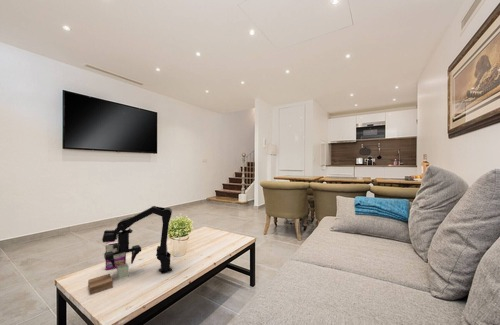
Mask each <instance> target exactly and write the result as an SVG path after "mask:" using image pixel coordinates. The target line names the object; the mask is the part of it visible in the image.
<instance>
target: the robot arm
mask: <svg viewBox="0 0 500 325" xmlns="http://www.w3.org/2000/svg"><path fill="white" fill-rule="evenodd" d="M153 214H155V215H156V216H159V217H161V221H162V225H161V226H162V227H161V236H160V245H157V247H156V254H155V256H156V259H157V260H158V261H159V263H160V268H158V271H159V272H160V273H161V274H162V275H163V274H166V273H168V272H171V271H173V268H172V267H171V256H172V254H171V253H170V252H169V251H168V242H167V241H168V236H169V235H168V234H169V226H170V225H169V224H170V221H171V217H172V214H173V210H172V208H170V207H160V206H156V205H152V206H150V207H149V208H147V209H144V210H143V211H141V212H139V213H137V214H134V215H133V216H130V217H125V218H123V219H121V220H120V221H119V222H118V223H117V224H116V228H115V229H109V230H108V229H105V230H104V231H103V235H102V238H101V239H102V240H101V241H102V243H108V242H114V241H118V244H117V243H114V244H113V249H115V248H117V251H118V252H114V253H113V252H112V251H110V252H106V251H105V253H103V258H104V260H105V261H106V260H108V261H111V263H112V265H113V268H114V269H113V270H115V269H116V268H115V262H114V258H113V257H114V256H116V255H120V254H124V253H126V254H128V253H131V260H130V264H131V265H133V264H134V261H135V259H136V257H137V255H138V254H140V253H141V252H142V247H141V246H140V244H136V245H132V246H131V247H130V234H132V233H133V229H131V226H132V225H134V224H135V223H137V222H139V221H141V220H143V219H144V218H146V217H149V216H150V215H153Z"/></svg>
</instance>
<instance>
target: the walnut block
mask: <svg viewBox="0 0 500 325" xmlns="http://www.w3.org/2000/svg"><path fill="white" fill-rule="evenodd" d="M87 283H88V284H87V288H88V292H89V296H91V295H94V294H97V293H100V292H104V291H106V290H109V289H112V288H114V287H113V286H114V284H113V283H114V282H113V278H112V276H111V273H107V274H104V275H101V276H96V277H94V278H90V279H88V282H87Z"/></svg>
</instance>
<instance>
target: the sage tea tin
mask: <svg viewBox="0 0 500 325" xmlns="http://www.w3.org/2000/svg"><path fill="white" fill-rule="evenodd" d="M116 269H117V271H116V276H117V279H118V280H122V279H125V278H128V277H129V270H130V269H129V264H128V263H126V264H123V265H120V266H117V268H116Z"/></svg>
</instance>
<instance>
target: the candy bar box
mask: <svg viewBox="0 0 500 325" xmlns="http://www.w3.org/2000/svg"><path fill="white" fill-rule="evenodd" d="M114 243H117V244H118V240H115V241H114V242H106V244H105V253H106V252H110V251H112V252H113V253H114V252H118V251H117V248H115V249H113V244H114ZM113 258H114V262H115V269H117V266H120V265H123V264H127V253H124V254H120V255H116V256H114V257H113ZM115 269H114V268H113V265H112V263H111V261H108V260H105V271H109V270H115Z"/></svg>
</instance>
